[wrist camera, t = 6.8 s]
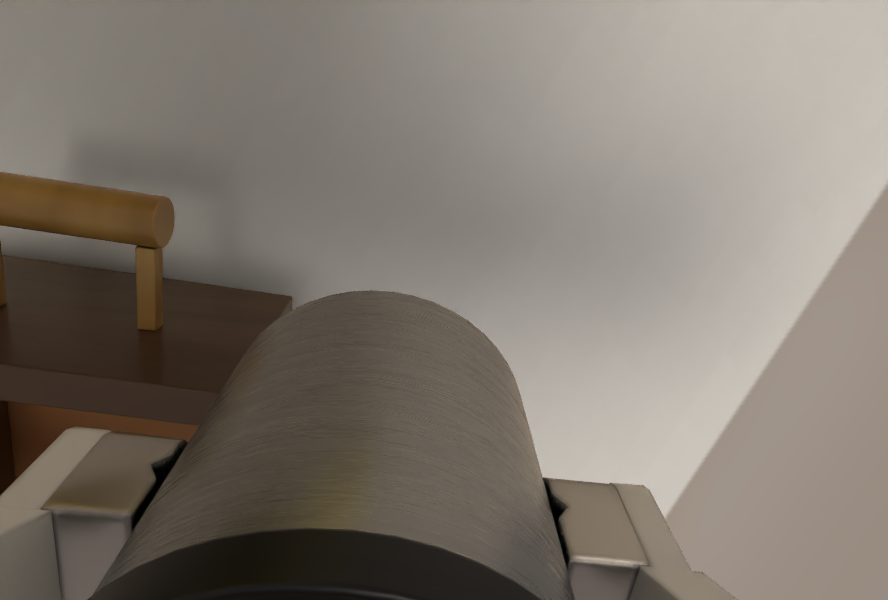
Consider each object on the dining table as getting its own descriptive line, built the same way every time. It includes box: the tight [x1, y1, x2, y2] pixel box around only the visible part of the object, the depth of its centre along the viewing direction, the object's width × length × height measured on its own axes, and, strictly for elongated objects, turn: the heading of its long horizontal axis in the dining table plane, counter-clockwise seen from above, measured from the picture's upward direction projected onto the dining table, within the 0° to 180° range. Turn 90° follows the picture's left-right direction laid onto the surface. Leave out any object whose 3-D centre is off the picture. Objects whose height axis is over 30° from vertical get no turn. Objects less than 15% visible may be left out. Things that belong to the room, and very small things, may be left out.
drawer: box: [0, 172, 293, 495], centre depth 22 cm, size 19×12×8 cm, turn 171°
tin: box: [87, 290, 575, 600], centre depth 8 cm, size 5×5×6 cm
